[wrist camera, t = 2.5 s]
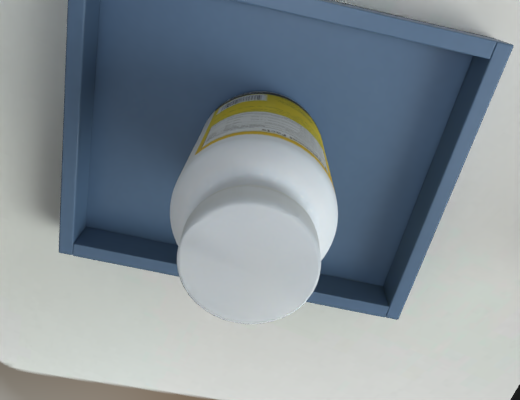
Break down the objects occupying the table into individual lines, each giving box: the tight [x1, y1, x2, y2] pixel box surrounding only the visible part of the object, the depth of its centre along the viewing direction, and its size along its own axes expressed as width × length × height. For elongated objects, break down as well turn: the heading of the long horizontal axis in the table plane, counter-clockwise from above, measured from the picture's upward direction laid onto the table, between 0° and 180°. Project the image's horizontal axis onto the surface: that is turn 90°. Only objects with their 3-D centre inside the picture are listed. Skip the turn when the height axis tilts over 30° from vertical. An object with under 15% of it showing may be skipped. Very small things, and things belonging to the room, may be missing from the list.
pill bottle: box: [170, 91, 338, 324], centre depth 21 cm, size 6×6×12 cm
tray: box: [59, 0, 513, 319], centre depth 25 cm, size 20×16×2 cm
